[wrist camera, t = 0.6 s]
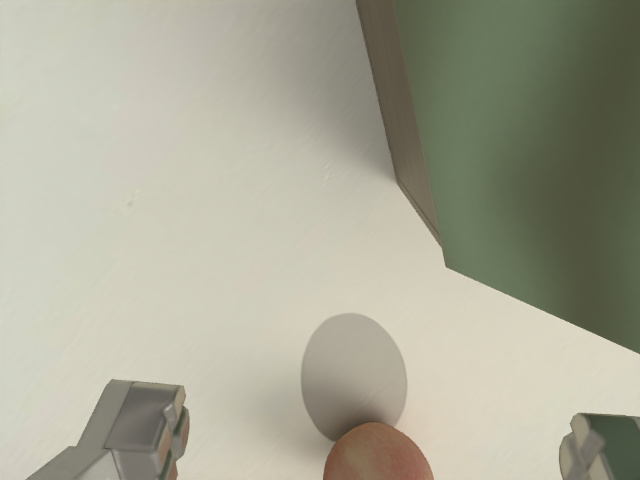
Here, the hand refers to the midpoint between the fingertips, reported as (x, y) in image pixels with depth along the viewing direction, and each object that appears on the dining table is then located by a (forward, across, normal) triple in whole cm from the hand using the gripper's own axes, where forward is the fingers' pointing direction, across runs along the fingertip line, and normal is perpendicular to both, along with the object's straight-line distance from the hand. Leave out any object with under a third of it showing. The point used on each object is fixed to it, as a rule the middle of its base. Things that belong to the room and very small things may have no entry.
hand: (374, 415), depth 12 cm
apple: (+20, -2, +28) cm, 34 cm away
